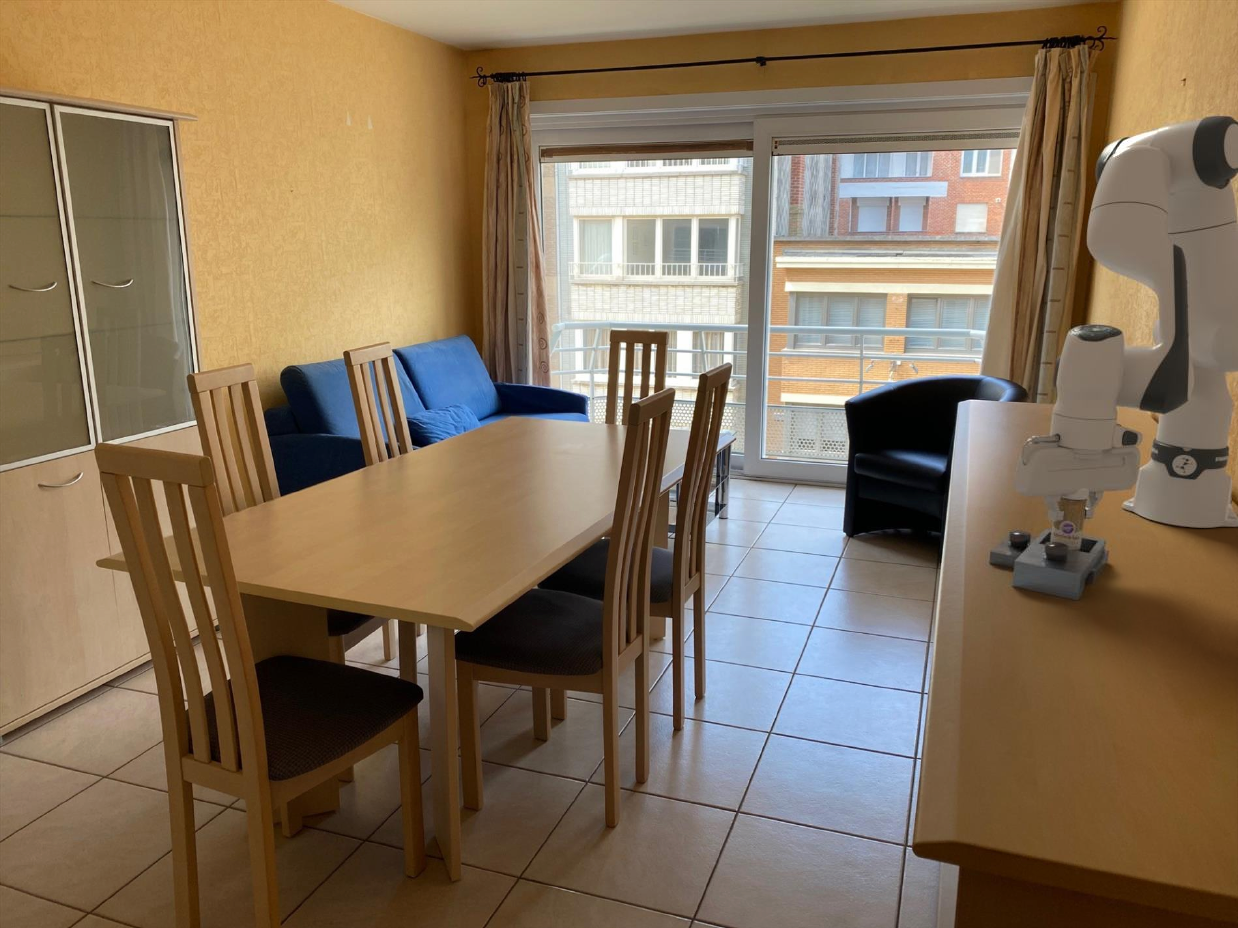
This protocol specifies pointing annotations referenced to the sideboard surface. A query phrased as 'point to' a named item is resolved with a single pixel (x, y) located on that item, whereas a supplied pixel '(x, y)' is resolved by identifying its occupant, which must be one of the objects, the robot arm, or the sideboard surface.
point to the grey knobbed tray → (1021, 541)
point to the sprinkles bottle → (1071, 519)
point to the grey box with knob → (1056, 566)
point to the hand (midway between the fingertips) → (1070, 519)
